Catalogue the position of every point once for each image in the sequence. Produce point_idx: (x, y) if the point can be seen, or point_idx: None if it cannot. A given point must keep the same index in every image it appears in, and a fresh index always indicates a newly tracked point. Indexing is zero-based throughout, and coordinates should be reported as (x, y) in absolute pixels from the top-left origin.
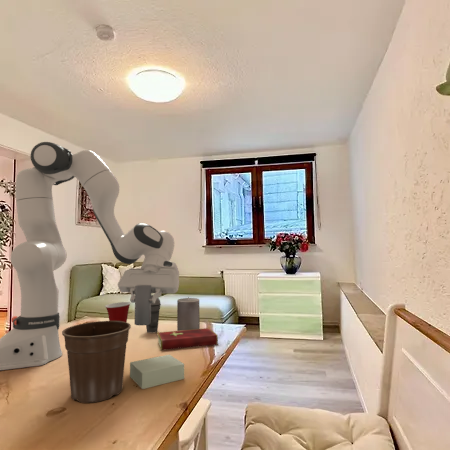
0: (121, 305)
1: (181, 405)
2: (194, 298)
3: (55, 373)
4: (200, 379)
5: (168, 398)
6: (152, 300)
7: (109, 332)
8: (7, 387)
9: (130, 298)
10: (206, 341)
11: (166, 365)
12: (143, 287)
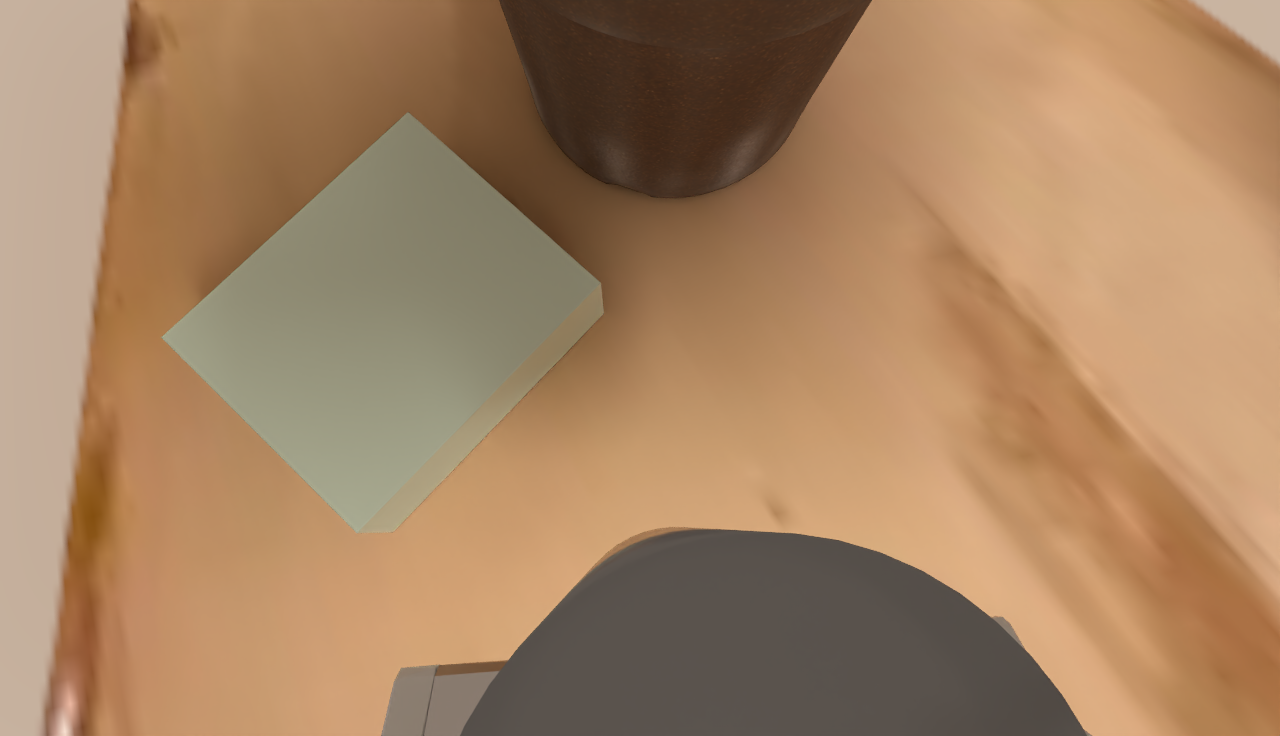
0: None
1: (146, 36)
2: None
3: (1134, 260)
4: (106, 377)
5: (239, 91)
6: (425, 668)
7: (750, 20)
8: (1212, 30)
9: (1013, 635)
10: None
11: (290, 277)
12: (606, 575)
